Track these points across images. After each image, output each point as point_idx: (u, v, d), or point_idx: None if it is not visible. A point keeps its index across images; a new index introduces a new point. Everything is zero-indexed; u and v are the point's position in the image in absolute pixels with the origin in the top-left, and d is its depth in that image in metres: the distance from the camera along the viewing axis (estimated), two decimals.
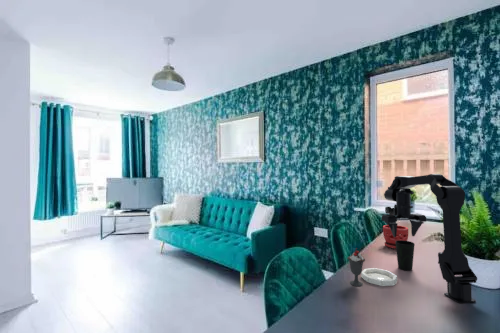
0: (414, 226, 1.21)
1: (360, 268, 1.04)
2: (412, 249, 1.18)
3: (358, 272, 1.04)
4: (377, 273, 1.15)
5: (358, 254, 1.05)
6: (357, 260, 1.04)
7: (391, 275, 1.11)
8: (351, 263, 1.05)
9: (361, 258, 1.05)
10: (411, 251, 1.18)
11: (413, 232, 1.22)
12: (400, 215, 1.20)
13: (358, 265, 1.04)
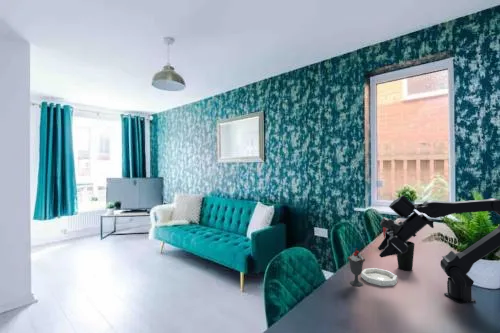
0: None
1: (360, 268, 1.04)
2: (412, 249, 1.18)
3: (358, 272, 1.04)
4: (377, 273, 1.15)
5: (358, 254, 1.05)
6: (357, 260, 1.04)
7: (391, 275, 1.11)
8: (351, 263, 1.05)
9: (361, 258, 1.05)
10: (411, 251, 1.18)
11: (383, 247, 1.07)
12: (403, 240, 0.98)
13: (358, 265, 1.04)
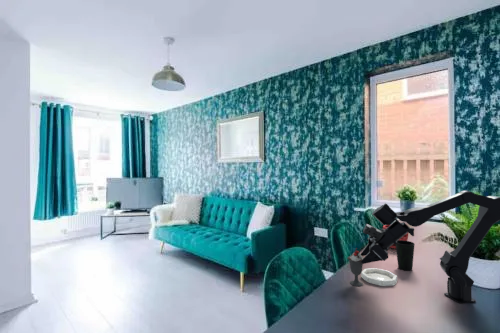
0: None
1: (360, 268, 1.04)
2: (412, 249, 1.18)
3: (358, 272, 1.04)
4: (377, 273, 1.15)
5: (358, 254, 1.05)
6: (357, 260, 1.04)
7: (391, 275, 1.11)
8: (351, 263, 1.05)
9: (361, 258, 1.05)
10: (411, 251, 1.18)
11: (365, 253, 1.09)
12: (384, 247, 1.00)
13: (358, 265, 1.04)
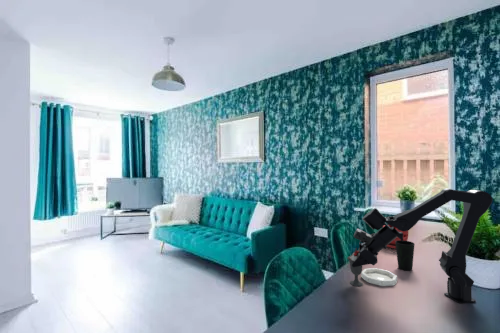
0: None
1: (360, 268, 1.04)
2: (412, 249, 1.18)
3: (358, 272, 1.04)
4: (377, 273, 1.15)
5: (358, 254, 1.05)
6: None
7: (391, 275, 1.11)
8: (351, 263, 1.05)
9: None
10: (411, 251, 1.18)
11: None
12: (374, 251, 1.01)
13: None
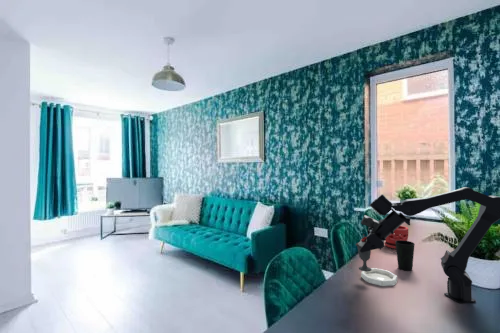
0: None
1: (368, 254, 1.06)
2: (412, 249, 1.18)
3: (366, 258, 1.06)
4: (377, 273, 1.15)
5: (366, 240, 1.07)
6: None
7: (391, 275, 1.11)
8: (359, 249, 1.07)
9: None
10: (411, 251, 1.18)
11: None
12: (382, 237, 1.03)
13: (366, 251, 1.06)
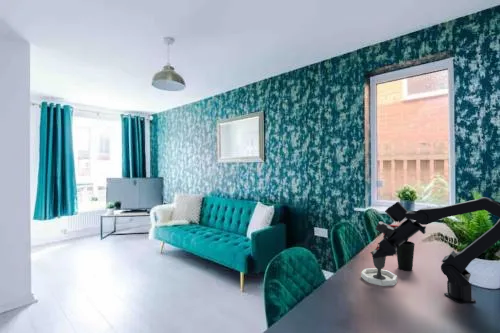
0: None
1: (382, 262, 1.08)
2: (412, 249, 1.18)
3: (380, 266, 1.09)
4: None
5: None
6: None
7: (391, 275, 1.11)
8: None
9: None
10: (411, 251, 1.18)
11: None
12: (395, 243, 1.05)
13: (380, 259, 1.08)
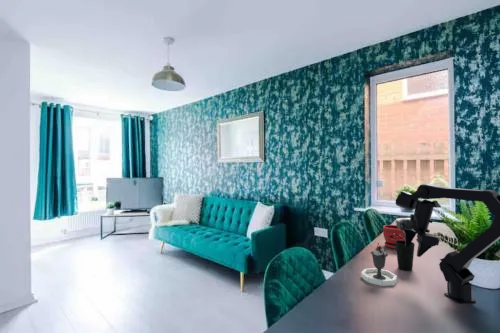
0: (410, 236, 1.10)
1: (382, 262, 1.08)
2: (412, 249, 1.18)
3: (380, 266, 1.09)
4: None
5: (380, 249, 1.09)
6: (379, 254, 1.08)
7: (391, 275, 1.11)
8: (373, 257, 1.10)
9: (384, 253, 1.09)
10: (411, 251, 1.18)
11: (409, 242, 1.10)
12: (425, 230, 1.02)
13: (380, 260, 1.08)
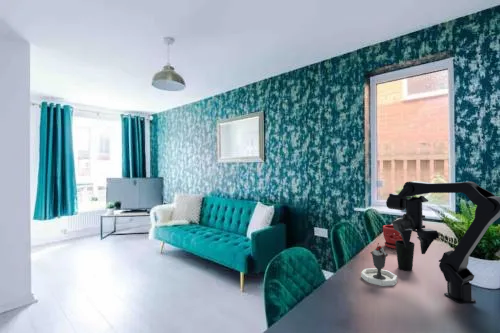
0: (407, 235, 1.12)
1: (382, 262, 1.08)
2: (412, 249, 1.18)
3: (380, 266, 1.09)
4: None
5: (380, 249, 1.09)
6: (379, 254, 1.08)
7: (391, 275, 1.11)
8: (373, 257, 1.10)
9: (383, 253, 1.09)
10: (411, 251, 1.18)
11: (407, 242, 1.11)
12: (422, 226, 1.04)
13: (380, 260, 1.08)
